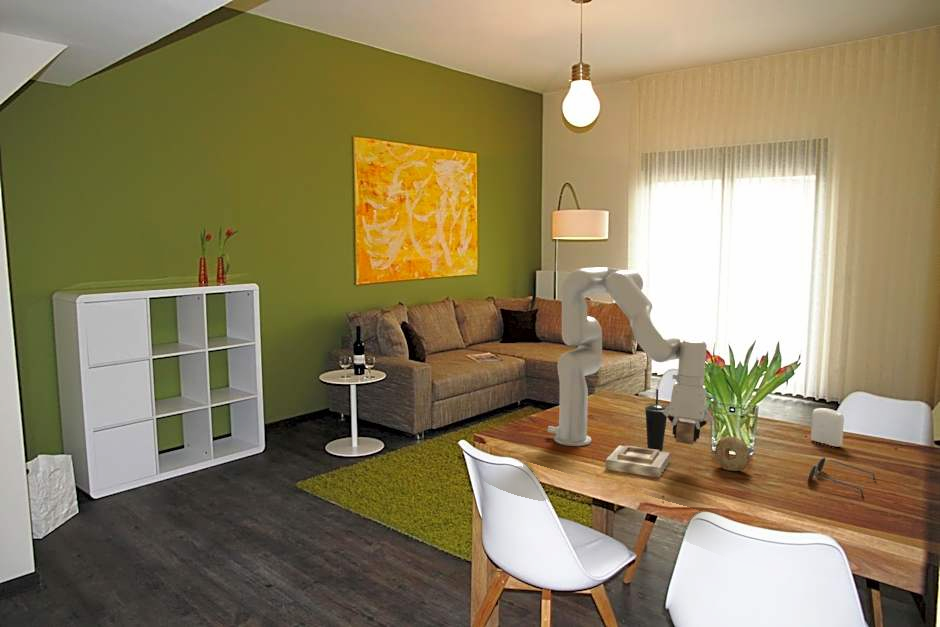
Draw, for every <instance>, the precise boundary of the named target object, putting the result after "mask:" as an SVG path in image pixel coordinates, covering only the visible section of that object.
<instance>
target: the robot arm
mask: <svg viewBox="0 0 940 627" xmlns="http://www.w3.org/2000/svg"><path fill="white" fill-rule="evenodd" d="M643 288H644V281H643V278H642V276H641V275H640V273H639V272H637V271H635V270H633V269H620V268H613V267H612V268H611V267H603V266H600V267H599V266H598V267H582V268H578V269H575V270H572V271H570V272H569V273H568V274H567V275H566V276H565V277H564V278H563V280H562V283H561V288H560V297H561V338H562V341H563V342H564V344H565V345H567V346H569V347H577V348H575V349H571V350H568V351H566V352H564V353H562V354H561V355H560V357H559V358H558V361H557V373H558V374H557V375H558V381H559V411H558V412H559V413H558V414H559V416H558V426H553V425H548V427H547V432H548V433H549V434H555V435H554V438H553V440H554V442H555V443H557V444H560V445H562V446H571V447H581V446H583V447H584V446H587V445H590V444H592V443H591V442H592V437H591V436H590V435H588V404H589V402H588V401H589V399H588V397H589V396H588V395H589V392H588V385H587V381H586V378H585V377H586V376H589V375H593V374H595V373H597V372H598V371H599V370H600V369H601V365H602V360H603V331H602V327H601V324H600V323H599V321H598V320H597V319H596V318H595V317H592V316H588V303H587V301H586V300H587V299H586V297H585V295H587V294H595V293H607V294H609V295H610V297H611V298H612V300H613V301H614V302H615V303H616V305H617V306H618V308H620V310H621V311H622V312H623V314H624V315H625V316H626V318H627V319H628V320H629V322H630V323H629V324H630V328H631V330H632V331H631V332H632V334H633V337H634V339H635V341H636V343H637V344H638V345H639V346H640V348H641V349H642V350H643V352H644V353H645V354H646V356H648V358H649V359H651V360H652V361H654V362H655V363H656V362H657V363H665V362H669V361H674V360H678V369H677V373H676V374H672V379H673V380H676V382H675V383H674V384H673V387H672V390H671V396H670V403H669V405H668V406H666V408H665V409H664V410H663V414H664V415H665V416H666V417H667V419H668V420H669V421H670V423H671V424H672V435H674V436H673V438H674V439H676V429H677V422H678V421H679V419H686V420H692V421H695V424H696V426H695V429H694V440H693V441H694V443H696V442H697V440H699V439H700V433H701V429H702V428H703V427H704V426H705V425H707V424H709V423H711V422H712V421H713V420H714V417H713V416H712V414H711V413H710V411H709V410H708V409H707V389H706V388H707V387H706V386H705V385H704V382H705V372H706V370H705V369H706V358H707V348H708V347H707V343H706V342H705V341H704V340H702V339H697V338H687V337H684V336H680V335H678V334H669V335H663V336H662V335H661V334H660V332H659V331H658V330H657V328H656V327H655V326H654V324H653V322H652V319H651V312H652V309H653V304H652V302H651V301H650V299H649V298H648V297H647V295H645V293H644V292H643V291H642V289H643ZM705 417H706V418H705Z"/></svg>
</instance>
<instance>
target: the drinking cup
mask: <svg viewBox="0 0 940 627" xmlns="http://www.w3.org/2000/svg"><path fill="white" fill-rule="evenodd" d="M665 408H667V406H664V405H661V404H659V388H658V389H655V404H649V405H647V406H645V407H644V411H645V426H646V428H645V429H646V441H647V442H646V444H647V448H648V449H655V450H659V451H662V450H663V449H664V440H665V434H666V426H667V419H668V417H666V416H665V415H664V414H663V410H664V409H665Z"/></svg>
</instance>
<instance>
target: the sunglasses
mask: <svg viewBox="0 0 940 627" xmlns="http://www.w3.org/2000/svg"><path fill="white" fill-rule="evenodd" d="M826 460H828V461H830V462H834V463H835V464H839V465H843V466H846V467H849V468H851V469H855V470H859V471H861V472H865V473H867V474H871V475H872V481H873V480H876V476H875V473H874V472H870V471H867V470H864V469H861V468H858V467H855V466H852V465H849V464H846V463H842V462H839V461H837V460H836V461H835V460H832V459H828V458H826V457H822V458H821V459H820V460H819V461H818V464H817V466H816V465H814V466H812V467H811V469H810V472H809V476H808V477H807V478H808V479H807V484H808V483H809V482H811V481H812V480H813V479H814V476H817V477H820V478H824V479H827V480H830V481H832V482H836V483H839V484H841V485H844V486H848V487H851V488H853V489H857V490H859V491H860V493H861V494H860V496H861V498H862V497H864V498H865V496H864V491H863V489H862V488H860V487H857V486H854V485H851V484H848V483H846V482H841V481H839V480H836V479H833V478H830V477H828V476H827V477H826V476H824V475H821V474H820V473H821V472H822V470H823V468H824V465H825V462H826ZM820 471H821V472H820ZM819 472H820V473H819ZM818 473H819V474H818ZM809 484H810V483H809Z"/></svg>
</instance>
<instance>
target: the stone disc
mask: <svg viewBox="0 0 940 627" xmlns="http://www.w3.org/2000/svg"><path fill="white" fill-rule="evenodd" d="M731 451H734V452H735V456H731V454H730V452H731ZM714 459H715V461H716V464H718V465H719V466H720V468H722V469H724V470H726V471H733V472H738V471H743V470H744V469H746V468H747V467H748V466H749V465H750V463H751V460H752V459H751V455H750V450H749V447H748V445H747V443H746V442H745V441H744V440H742V439H741V438H739V437H736V436H725V437H721V438H720V439H719V440H718V441H717V443H716V445H715V448H714Z"/></svg>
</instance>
